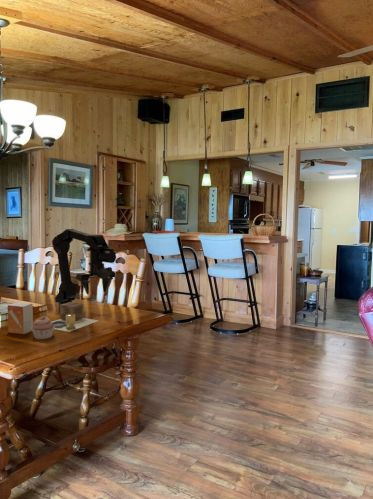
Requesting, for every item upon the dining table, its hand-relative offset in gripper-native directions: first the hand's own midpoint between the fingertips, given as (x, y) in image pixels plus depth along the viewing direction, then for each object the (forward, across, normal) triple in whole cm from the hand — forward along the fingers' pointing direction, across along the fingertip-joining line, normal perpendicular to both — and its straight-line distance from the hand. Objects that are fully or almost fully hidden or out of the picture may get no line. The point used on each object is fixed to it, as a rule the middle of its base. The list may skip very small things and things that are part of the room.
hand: (96, 292), depth 199 cm
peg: (+12, -18, -9) cm, 24 cm away
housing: (+12, -10, +4) cm, 17 cm away
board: (+13, -15, -2) cm, 20 cm away
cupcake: (+13, -32, -12) cm, 37 cm away
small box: (+14, -36, +1) cm, 39 cm away
